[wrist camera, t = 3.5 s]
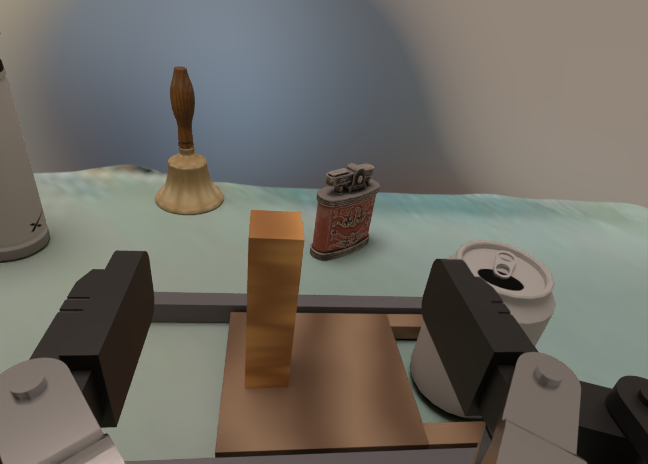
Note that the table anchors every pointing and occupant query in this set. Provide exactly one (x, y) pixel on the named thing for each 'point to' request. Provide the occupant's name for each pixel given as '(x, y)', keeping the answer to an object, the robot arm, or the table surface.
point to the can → (517, 294)
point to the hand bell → (186, 159)
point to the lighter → (344, 212)
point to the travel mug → (17, 187)
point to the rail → (222, 304)
